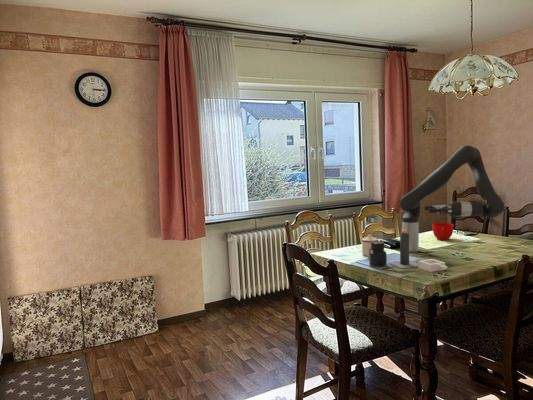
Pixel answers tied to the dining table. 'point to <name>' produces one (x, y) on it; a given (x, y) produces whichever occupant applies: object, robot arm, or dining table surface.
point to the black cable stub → (404, 248)
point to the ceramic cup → (442, 230)
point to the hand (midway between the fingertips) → (426, 209)
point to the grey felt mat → (397, 264)
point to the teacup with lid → (367, 244)
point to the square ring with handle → (431, 265)
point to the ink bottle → (377, 254)
